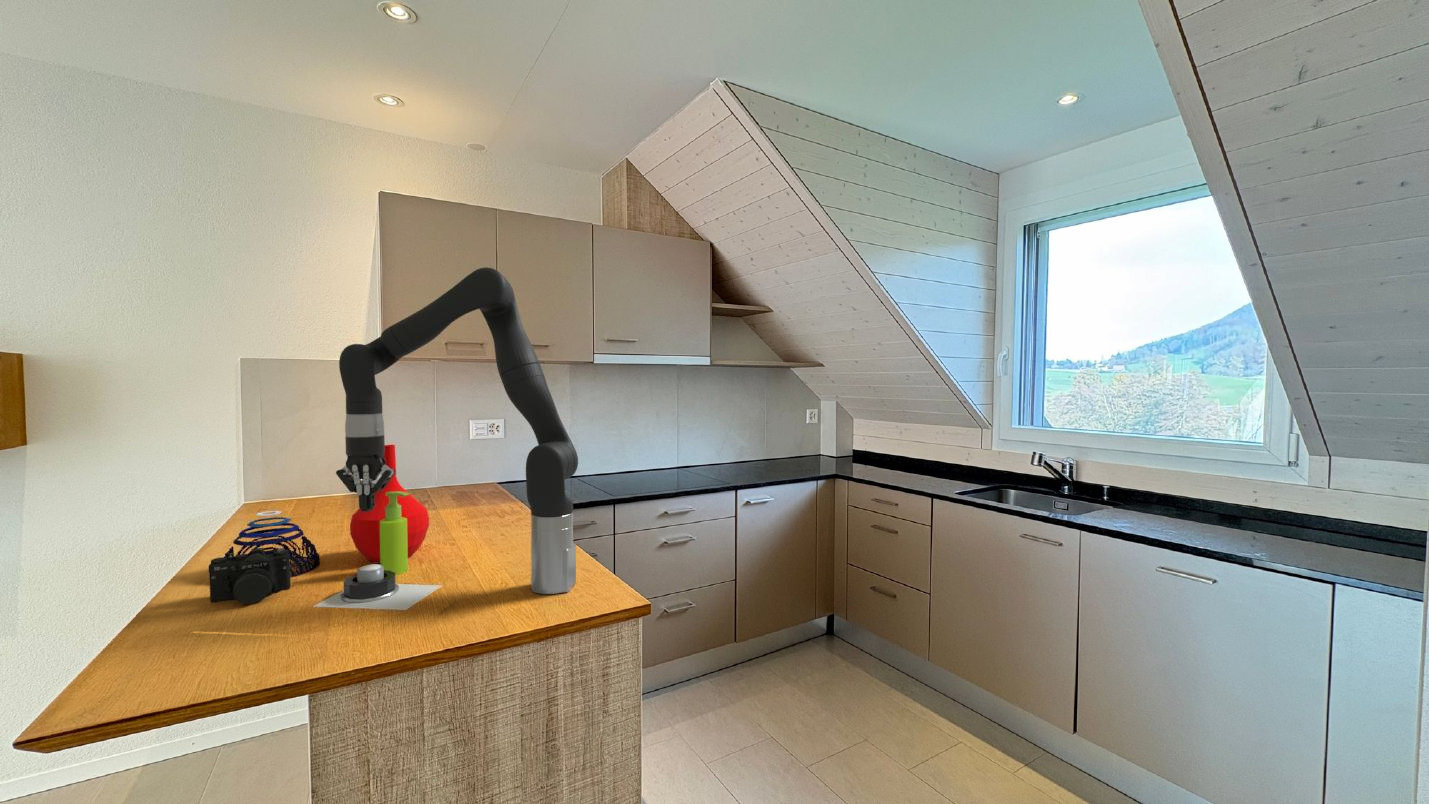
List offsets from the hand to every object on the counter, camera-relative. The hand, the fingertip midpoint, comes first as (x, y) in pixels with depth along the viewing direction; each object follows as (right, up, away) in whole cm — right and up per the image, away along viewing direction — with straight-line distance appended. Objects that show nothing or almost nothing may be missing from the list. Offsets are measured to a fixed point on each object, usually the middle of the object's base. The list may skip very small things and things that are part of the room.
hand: (367, 510), depth 132 cm
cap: (+3, -17, -3) cm, 18 cm away
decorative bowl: (-31, -17, +12) cm, 38 cm away
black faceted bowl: (+3, -18, -3) cm, 18 cm away
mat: (+6, -18, -5) cm, 19 cm away
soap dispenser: (+1, -18, +11) cm, 21 cm away
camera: (-22, -18, -6) cm, 29 cm away
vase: (-8, -17, +23) cm, 30 cm away
